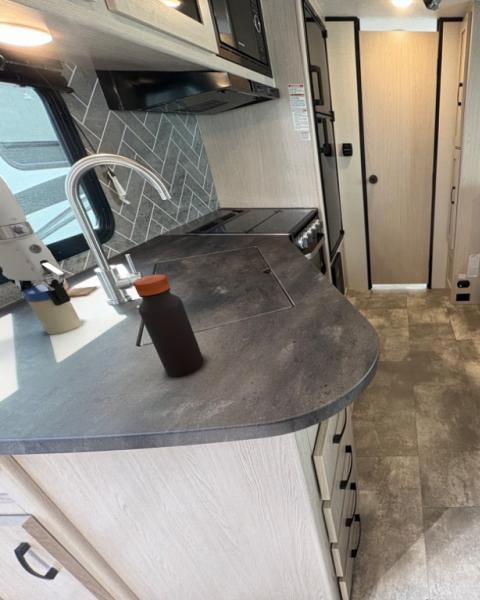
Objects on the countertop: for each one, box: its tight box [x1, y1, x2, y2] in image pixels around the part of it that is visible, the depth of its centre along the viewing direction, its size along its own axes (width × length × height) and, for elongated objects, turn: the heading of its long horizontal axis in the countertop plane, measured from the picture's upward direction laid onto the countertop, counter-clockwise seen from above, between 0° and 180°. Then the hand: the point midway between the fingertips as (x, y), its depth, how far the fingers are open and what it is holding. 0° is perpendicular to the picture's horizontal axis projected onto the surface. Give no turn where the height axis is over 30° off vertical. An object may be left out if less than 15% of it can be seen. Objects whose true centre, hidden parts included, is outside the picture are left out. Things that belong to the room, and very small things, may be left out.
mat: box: [67, 286, 98, 298], centre depth 101 cm, size 6×6×1 cm
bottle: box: [132, 273, 205, 378], centre depth 61 cm, size 7×7×20 cm
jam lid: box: [20, 283, 51, 302], centre depth 77 cm, size 7×7×2 cm
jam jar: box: [26, 298, 82, 335], centre depth 79 cm, size 7×7×11 cm
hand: (50, 302), depth 78 cm, fingers closed on jam lid, 6 cm apart
